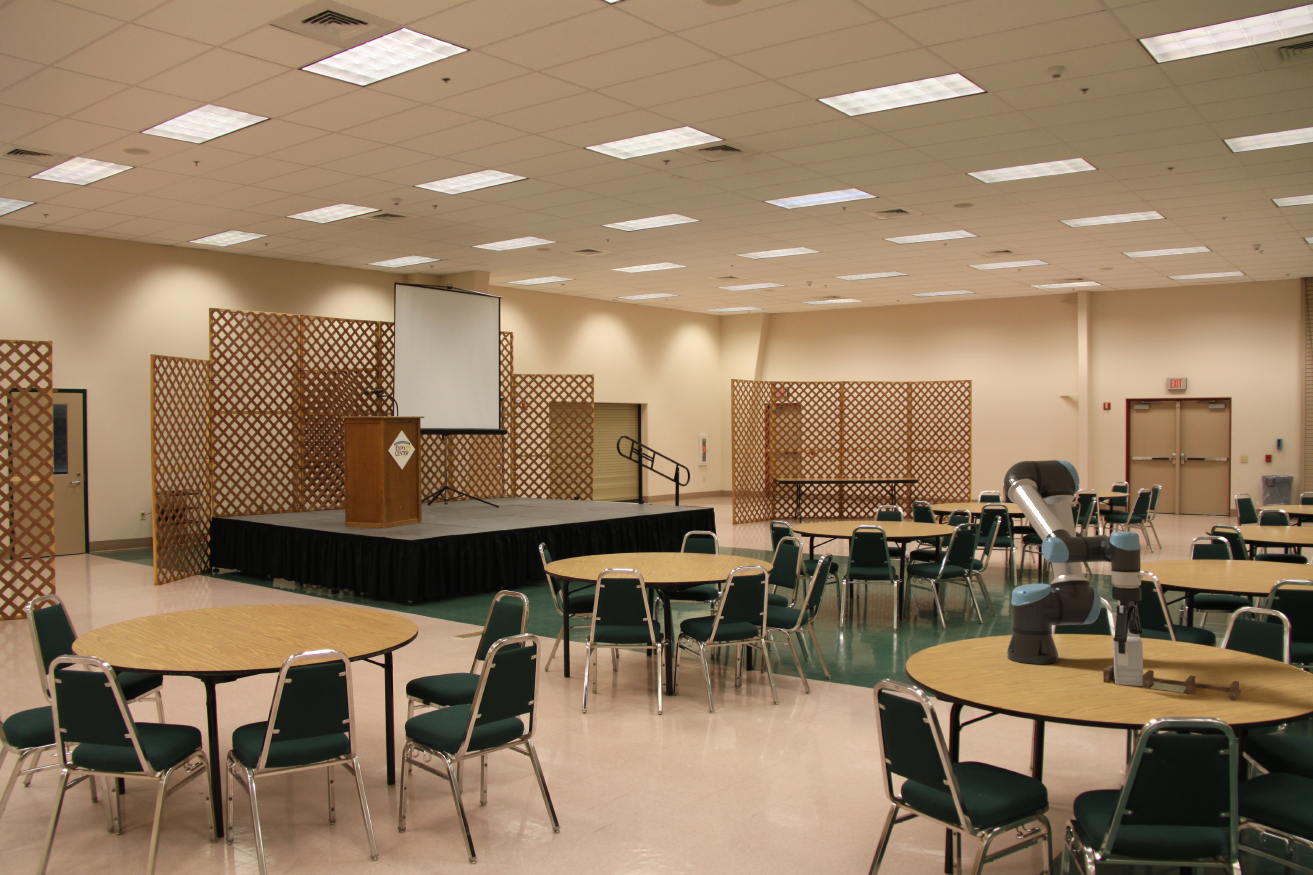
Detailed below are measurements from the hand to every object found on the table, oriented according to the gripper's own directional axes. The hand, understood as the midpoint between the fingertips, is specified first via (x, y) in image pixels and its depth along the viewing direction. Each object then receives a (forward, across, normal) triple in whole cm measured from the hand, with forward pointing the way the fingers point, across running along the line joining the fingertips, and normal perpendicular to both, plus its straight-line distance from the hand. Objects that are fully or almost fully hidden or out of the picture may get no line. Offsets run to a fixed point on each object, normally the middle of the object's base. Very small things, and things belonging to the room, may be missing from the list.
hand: (1128, 660), depth 265 cm
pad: (+6, 0, -10) cm, 12 cm away
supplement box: (+7, 0, 0) cm, 7 cm away
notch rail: (+6, +2, -10) cm, 12 cm away
